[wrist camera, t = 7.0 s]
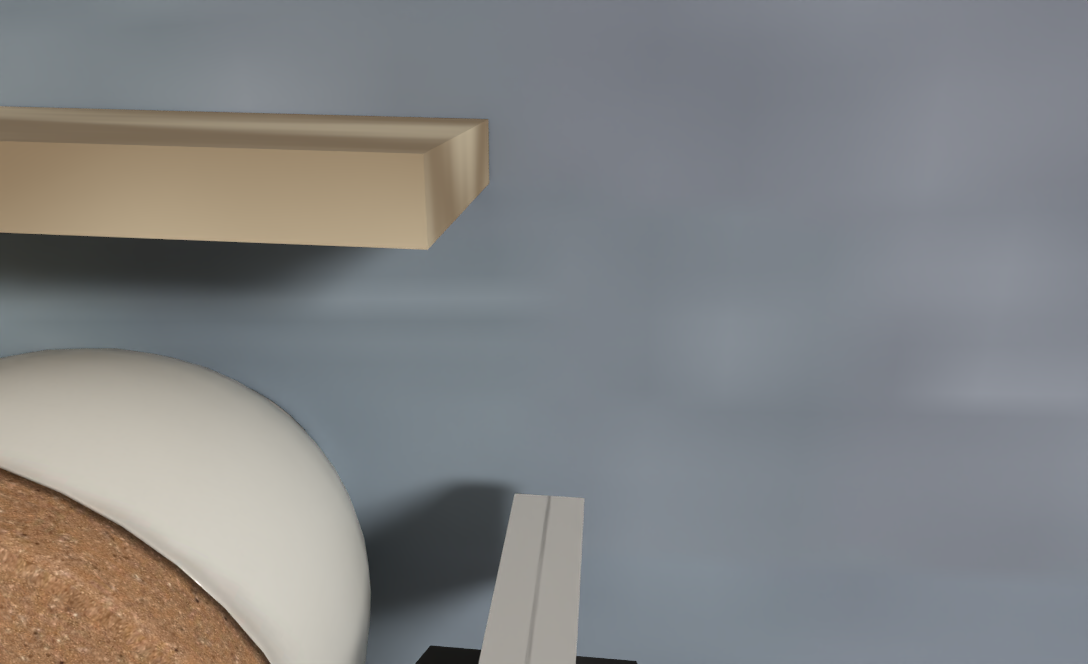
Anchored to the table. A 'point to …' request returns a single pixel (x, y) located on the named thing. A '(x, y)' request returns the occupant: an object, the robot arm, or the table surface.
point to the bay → (238, 175)
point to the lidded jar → (168, 520)
